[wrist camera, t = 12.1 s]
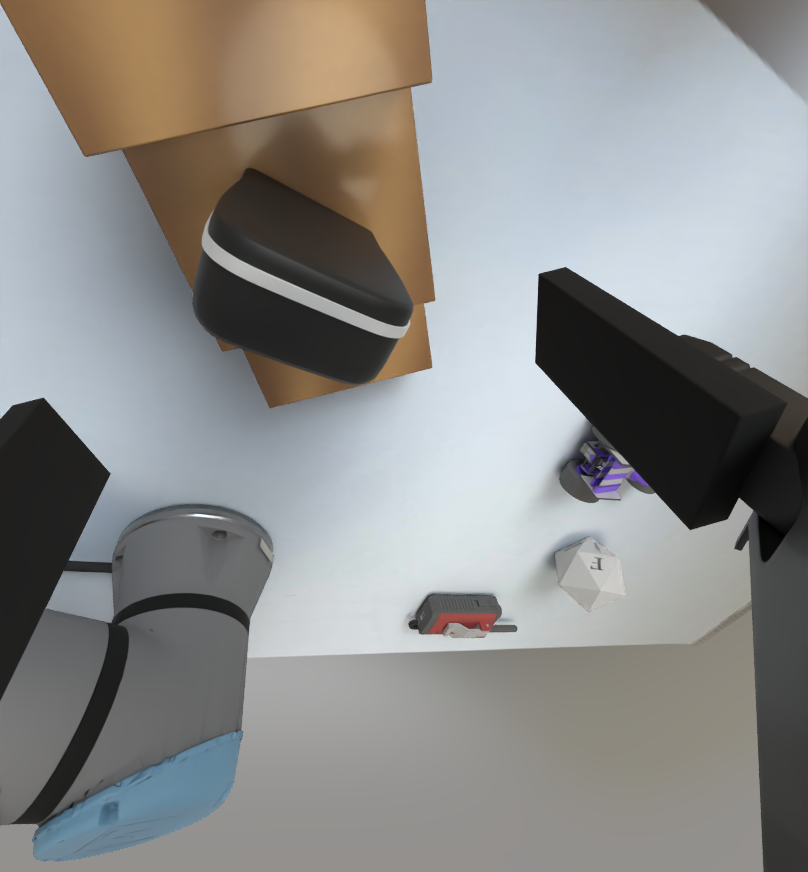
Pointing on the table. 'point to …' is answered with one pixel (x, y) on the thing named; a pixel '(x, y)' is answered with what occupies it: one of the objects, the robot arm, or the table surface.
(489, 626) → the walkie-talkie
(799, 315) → the table surface
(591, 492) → the toy race car
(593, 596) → the die
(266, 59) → the shelf riser
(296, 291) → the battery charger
